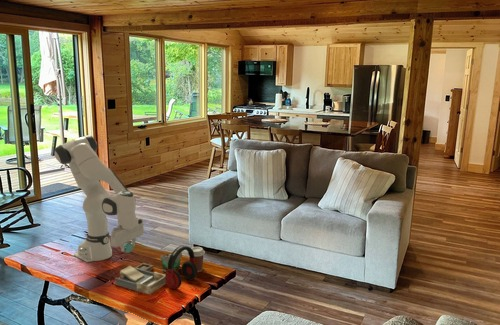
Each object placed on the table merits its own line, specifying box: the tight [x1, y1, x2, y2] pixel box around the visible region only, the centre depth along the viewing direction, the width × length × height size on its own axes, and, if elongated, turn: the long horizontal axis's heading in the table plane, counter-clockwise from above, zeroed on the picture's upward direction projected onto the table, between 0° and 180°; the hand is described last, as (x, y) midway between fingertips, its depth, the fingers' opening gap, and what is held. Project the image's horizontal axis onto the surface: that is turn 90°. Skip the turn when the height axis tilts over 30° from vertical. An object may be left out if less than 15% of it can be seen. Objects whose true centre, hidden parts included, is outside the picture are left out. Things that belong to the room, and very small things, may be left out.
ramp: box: [119, 265, 144, 282], centre depth 205 cm, size 10×7×4 cm
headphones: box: [164, 245, 198, 290], centre depth 202 cm, size 18×10×20 cm, turn 147°
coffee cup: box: [190, 246, 206, 273], centre depth 219 cm, size 9×9×12 cm
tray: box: [136, 271, 167, 296], centre depth 200 cm, size 8×14×4 cm, turn 154°
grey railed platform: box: [114, 267, 154, 292], centre depth 204 cm, size 14×14×3 cm
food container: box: [159, 252, 183, 274], centre depth 216 cm, size 12×6×10 cm, turn 123°
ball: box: [123, 242, 134, 254], centre depth 203 cm, size 5×5×5 cm
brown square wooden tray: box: [134, 262, 154, 272], centre depth 218 cm, size 7×7×2 cm
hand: (128, 248), depth 203 cm, fingers closed on ball, 5 cm apart
